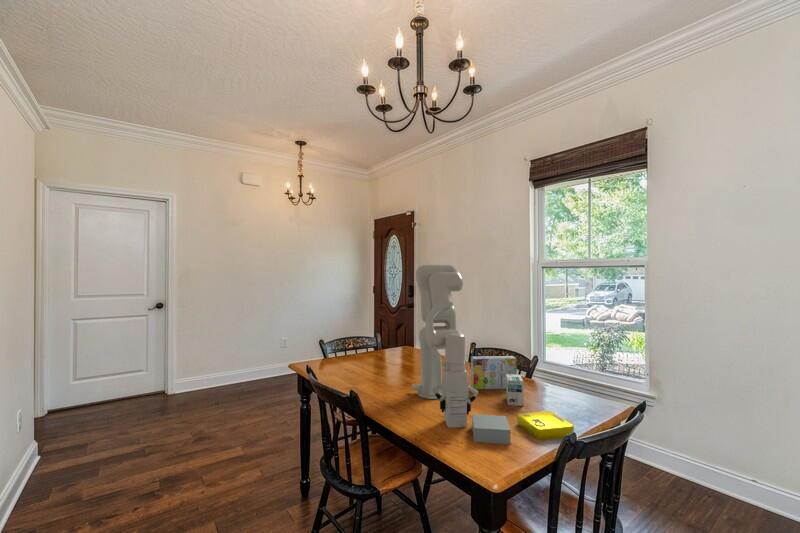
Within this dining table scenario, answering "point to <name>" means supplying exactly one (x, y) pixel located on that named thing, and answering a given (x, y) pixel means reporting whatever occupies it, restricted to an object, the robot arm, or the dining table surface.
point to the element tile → (544, 425)
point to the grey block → (491, 429)
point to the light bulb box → (515, 390)
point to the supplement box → (455, 410)
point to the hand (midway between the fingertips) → (455, 412)
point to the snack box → (491, 371)
